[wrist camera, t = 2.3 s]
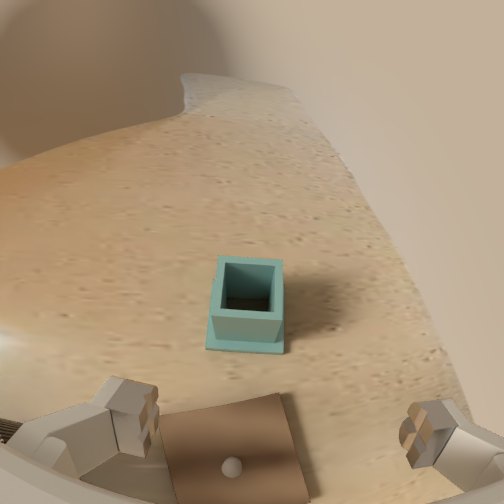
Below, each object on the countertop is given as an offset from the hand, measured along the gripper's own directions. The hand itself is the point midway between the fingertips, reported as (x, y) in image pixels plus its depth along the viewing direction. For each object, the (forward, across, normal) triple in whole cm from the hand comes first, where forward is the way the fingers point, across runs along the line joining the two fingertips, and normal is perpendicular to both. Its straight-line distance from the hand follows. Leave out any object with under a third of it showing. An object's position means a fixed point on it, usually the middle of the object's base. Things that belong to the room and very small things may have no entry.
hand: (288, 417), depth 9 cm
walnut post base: (+14, +2, +19) cm, 23 cm away
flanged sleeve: (+25, +2, +8) cm, 26 cm away
